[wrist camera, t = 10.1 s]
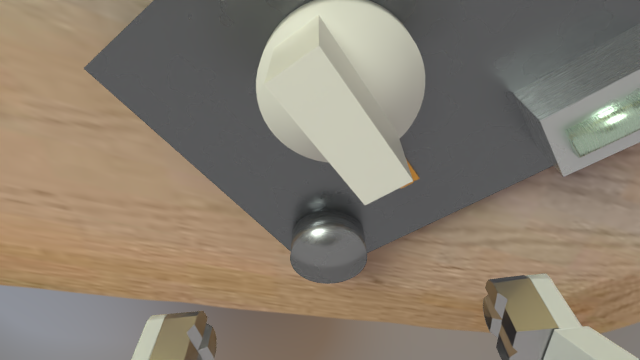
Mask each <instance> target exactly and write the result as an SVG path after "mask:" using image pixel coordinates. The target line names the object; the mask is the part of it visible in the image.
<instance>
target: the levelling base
mask: <svg viewBox="0 0 640 360" xmlns="http://www.w3.org/2000/svg"><path fill="white" fill-rule="evenodd" d="M311 1H313V0H154V1H153V2H152V3H151V4H150V5H149V6H148V7H146V8H145V9H144V10H143V11H142V12H141V13H140V14H139V15H138V16H137V17H136V18H135V19H134V20H133V21H132V22H131V23H130V24H129V25H128V26H127V27H126V28H125V29H124V30H123V31H122V32H121V33H120V34H119V35H118V36H117V37H115V38H114V39H113V40H112V41H111V42H110V43H109V44H108V45H107V46H106V47H105V48H104V49H103V50H102V51H101V52H100V53H99V54H98V55H97V56H96V57H95V58H94V59H93V60H92V61H91V62H90V63H89V64H88V65H87V66H85V67H84V69H85V70H86V71H87V72H88V73H90V74H91V75H92V76H93V77H94V78H95V79H96V80H97V81H99V82H100V83H101V84H102V85H103V86H104V87H105V88H106V89H108V90H109V91H110V92H111V93H112V94H113V95H114V96H116V97H117V98H118V99H119V100H120V101H121V102H122V103H123V104H125V105H126V106H127V107H128V108H129V109H130V110H131V111H132V112H134V113H135V114H136V115H137V116H138V117H139V118H140V119H142V120H143V121H144V122H145V123H146V124H147V125H148V126H149V127H151V128H152V129H153V130H154V131H155V132H156V133H157V134H158V135H160V136H161V137H162V138H163V139H164V140H165V141H166V142H168V143H169V144H170V145H171V146H172V147H173V148H174V149H175V150H177V151H178V152H179V153H180V154H181V155H182V156H183V157H184V158H186V159H187V160H188V161H189V162H190V163H191V164H192V165H194V166H195V167H196V168H197V169H198V170H199V171H200V172H201V173H203V174H204V175H205V176H206V177H207V178H208V179H209V180H210V181H212V182H213V183H214V184H215V185H216V186H217V187H218V188H220V189H221V190H222V191H223V192H224V193H225V194H226V195H227V196H229V197H230V198H231V199H232V200H233V201H234V202H235V203H236V204H238V205H239V206H240V207H241V208H242V209H243V210H244V211H246V212H247V213H248V214H249V215H250V216H251V217H252V218H253V219H255V220H256V221H257V222H258V223H259V224H260V225H261V226H262V227H264V228H265V229H266V230H267V231H268V232H269V233H270V234H272V235H273V236H274V237H275V238H276V239H277V240H278V241H279V242H281V243H282V244H283V245H284V246H285V247H286V248H287V249H288V250H290V251H291V255H290V261H291V265H292V267H293V269H294V270H295V271H296V272H297V273H298V274H299V275H300V276H302V277H304V278H305V279H308V280H310V281H313V282H317V283H327V284H328V283H338V282H343V281H346V280H349V279H351V278H353V277H354V276H356V275H357V274H359V273H360V272H361V271H362V270H363V268H364V267H365V265H366V262H367V253H368V252H371V251H373V250H375V249H377V248H379V247H381V246H383V245H385V244H388V243H390V242H392V241H394V240H396V239H398V238H400V237H402V236H405V235H407V234H409V233H411V232H413V231H415V230H417V229H419V228H422V227H424V226H426V225H428V224H430V223H432V222H434V221H436V220H439V219H441V218H443V217H445V216H447V215H449V214H451V213H453V212H456V211H458V210H460V209H462V208H464V207H466V206H468V205H470V204H473V203H475V202H477V201H479V200H481V199H483V198H485V197H488V196H490V195H492V194H494V193H496V192H498V191H500V190H502V189H505V188H507V187H509V186H511V185H513V184H515V183H517V182H519V181H522V180H524V179H526V178H528V177H530V176H532V175H534V174H536V173H539V172H541V171H543V170H545V169H547V168H549V167H551V166H554V167H555V168H556V169H557V170H558V171H559V173H560V174H561V175H562V176H563V177H564V176H567V175H569V174H571V173H573V172H575V171H578V170H580V169H582V168H584V167H586V166H589V165H591V164H593V163H595V162H597V161H599V160H602V159H604V158H606V157H608V156H610V155H613V154H615V153H617V152H619V151H621V150H624V149H626V148H628V147H630V146H632V145H635V144H637V143H639V142H640V0H370V1H372V2H374V3H377V4H379V5H381V6H382V7H384V8H385V9H387V10H389V11H390V12H391V13H392V14H393V15H395V16H396V17H397V18H398V19H399V20H400V22H401V23H402V24H403V25H404V26H405V28H406V29H407V31H408V32H409V34H410V36H411V37H412V39H413V40H414V42H415V43H416V45H417V47H418V49H419V52H420V54H421V57H422V60H423V64H424V69H425V91H424V97H423V101H422V104H421V107H420V110H419V112H418V114H417V116H416V118H415V120H414V121H413V123H412V125H411V126H410V127H409V129H408V130H407V131H406V132H405V134H404V135H403V136H402V137H401V138H400V139H399V140H400V143H401V146H402V149H403V152H404V155H405V158H406V161H407V164H408V167H409V170H410V173H411V176H412V179H413V183H412V184H410V185H408V186H406V187H404V188H402V189H401V188H398V189H396V190H395V191H393V192H391V193H389V194H387V195H385V196H383V197H381V198H379V199H377V200H375V201H373V202H371V203H369V204H367V205H364V204H363V203H362V201H361V200H360V199H359V198H358V197H357V195H356V194H355V193H354V192H353V191H352V189H351V188H350V187H349V186H348V185H347V183H346V182H345V181H344V180H343V179H342V177H341V176H340V175H339V174H338V173H337V171H336V170H335V169H334V168H333V167H332V165H331V164H330V163H328V162H321V161H316V160H313V159H310V158H307V157H304V156H302V155H300V154H298V153H296V152H294V151H293V150H291V149H289V148H288V147H287V146H286V145H284V144H283V143H282V142H281V141H280V140H279V139H278V138H277V137H276V136H275V135H274V134H273V133H272V131H271V130H270V129H269V127H268V126H267V124H266V122H265V121H264V119H263V116H262V114H261V112H260V109H259V105H258V101H257V94H256V77H257V71H258V67H259V63H260V60H261V57H262V54H263V51H264V48H265V46H266V44H267V42H268V39H269V37H270V36H271V34H272V33H273V31H274V30H275V28H276V27H277V26H278V25H279V24H280V22H281V21H282V20H283V19H284V18H285V17H287V16H288V15H289V14H290V13H291V12H293V11H294V10H296V9H297V8H299V7H300V6H302V5H304V4H306V3H308V2H311Z"/></svg>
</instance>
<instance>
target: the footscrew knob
mask: <svg viewBox="0 0 640 360" xmlns="http://www.w3.org/2000/svg"><path fill="white" fill-rule="evenodd" d="M424 91H425V69H424V64H423V60H422V57H421V54H420V52H419V49H418V47H417V45H416V43H415V42H414V40H413V39H412V37H411V36H410V34H409V32H408V31H407V29H406V28H405V26H404V25H403V24H402V23H401V22H400V20H399V19H398V18H397V17H396V16H395V15H393V14H392V13H391V12H390V11H389V10H387V9H385V8H384V7H382V6H381V5H379V4H377V3H374V2H372V1H370V0H313V1H311V2H308V3H306V4H304V5H302V6H300V7H299V8H297V9H296V10H294V11H293V12H291V13H290V14H289V15H288V16H287V17H285V18H284V19H283V20H282V21H281V22H280V24H279V25H278V26H277V27H276V28H275V30H274V31H273V33H272V34H271V36H270V37H269V39H268V42H267V44H266V46H265V48H264V51H263V54H262V57H261V60H260V63H259V67H258V71H257V77H256V94H257V101H258V105H259V109H260V112H261V114H262V116H263V119H264V121H265V122H266V124H267V126H268V127H269V129H270V130H271V131H272V133H273V134H274V135H275V136H276V137H277V138H278V139H279V140H280V141H281V142H282V143H283V144H284V145H286V146H287V147H288V148H289V149H291V150H293V151H294V152H296V153H298V154H300V155H302V156H304V157H307V158H310V159H313V160H316V161H321V162H328V163H330V164H331V165H332V167H333V168H334V169H335V170H336V171H337V173H338V174H339V175H340V176H341V177H342V179H343V180H344V181H345V182H346V183H347V185H348V186H349V187H350V188H351V189H352V191H353V192H354V193H355V194H356V195H357V197H358V198H359V199H360V200H361V201H362V203H363V204H364V205H367V204H369V203H371V202H373V201H375V200H377V199H379V198H381V197H383V196H385V195H387V194H389V193H391V192H393V191H395V190H396V189H398V188H401V189H402V188H404V187H406V186H408V185H410V184H412V183H413V179H412V176H411V173H410V170H409V167H408V164H407V161H406V158H405V155H404V152H403V149H402V146H401V143H400V140H399V139H400V138H401V137H402V136H403V135H404V134H405V132H406V131H407V130H408V129H409V127H410V126H411V125H412V123H413V121H414V120H415V118H416V116H417V114H418V112H419V110H420V107H421V104H422V101H423V97H424Z"/></svg>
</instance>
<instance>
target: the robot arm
mask: <svg viewBox="0 0 640 360" xmlns="http://www.w3.org/2000/svg"><path fill="white" fill-rule="evenodd" d="M485 288H486V291H487V293H488V295H487V296H486V297H485V298H484V300H483V311H484V317H485V320H486V324H487V326H488V329H489V331H490V332H491V333H492V334H493V335H495V336H496V337H497V338H498V341H497V346H496V348H497V350H498V352H499V355H500V357H501V359H502V360H640V359H638V358H637V357H635V356H634V355H632V354H630V353H629V352H627V351H626V350H624V349H623V348H621V347H620V346H618V345H617V344H615V343H613V342H612V341H610V340H609V339H607V338H606V337H604V336H602V335H601V334H600V333H598V332H596V331H595V330H593V329H592V328H590V327H589V326H582V325H581V324H580V322H579V321H578V319H577V318H576V316H575V315H574V313H573V312H572V310H571V309H570V307H569V306H568V304H567V303H566V301H565V300H564V298H563V297H562V295H561V293H560V292H559V290H558V289H557V287H556V286H555V284H554V283H553V281H552V280H551V278H550V277H549V276H548V275H547V274H535V275H527V276H524V275H522V276H514V277H506V278H498V279H490V280H488V281H487V282H486V287H485ZM206 322H207V316H206V314H205V313H204V311H197V312H186V313H175V314H163V315H153V316H151V317H150V318H149V319H148V321H147V322H146V325H145V327H144V330H143V332H142V334H141V337H140V339H139V342H138V345H137V347H136V349H135V352H134V354H133V357H132V359H131V360H214V358H215V353H216V334H215V331H214V329H213V327H212V326H210V325H209V324H207V323H206Z"/></svg>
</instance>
